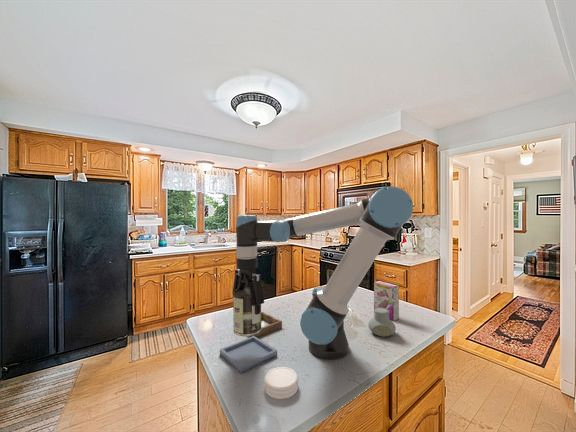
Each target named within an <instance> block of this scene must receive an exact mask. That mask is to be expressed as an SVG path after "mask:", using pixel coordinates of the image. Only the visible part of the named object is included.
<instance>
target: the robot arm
mask: <svg viewBox="0 0 576 432" xmlns="http://www.w3.org/2000/svg"><path fill="white" fill-rule="evenodd" d="M413 210H414V204H413V199H412V197H411V196H410V195H409V193H408V192H407V191H405V190H404V189H403V188H400V187H398V186H383V187H381V188H379V189H377V190H376V191H375V192H374V193H373V194H372V195H371V196H370V197H367V198H362V199H360V201H359V202H358V203H353V204H348V205H343V206H339V207H335V208H331V209H326V210H322V211H317V212H311V213H308V214H303V215H299V216H295V217H290V218H285V219H276V220H275V219H273V220H272V219H271V220H258V216H257V215H253V214H249V215H248V214H246V215H245V214H244V215H243V214H241V215H238V216H237V217H236V220H235V221H236V224H235V225H236V226H235V229H236V232H235V233H236V234H235V236H236V247H235V248H236V249H235V251H236V254H235V255H236V257H237V258H236V269H234V279H233V280H234V281H233V286H232V292H233V291H235V290H237V289H238V290H241V289H244V288H249V290H250V294H251V295H252V301H253V304H252V324H255V323H258V322H260V304H261V305H263V304H265V299H264V292H263V287H262V286H263V285H262V281H261V280H262V276H261V274H256V269H257V268H258V258H257V256H258V242H265V243H266V242H268V243H285V242H288V240H289V239H290V238H295V237H300V236H305V235H311V234H315V233H321V232H325V231H330V230H335V229H342V228H346V227H352V226H356V225H360V226H359V227H360V228H358V231H357V232H356V234H355V235H354V237H353V239H352V241H351V242H350V244H349V245H348V247H347V249H346V250H345V253H344V254H343V256H342V257H341V259H340V261H339V262H338V264H337V266H336V268H335V269H334V271H333V272H332V274H331V276H330V278H329V280H328V282H327V283H326V284H325V286H317V287H313V289H312V293H311V295H312V299H311V300H310V303H309V304H308V305H307V308H305V310H304V311H303V313H302V314H301V318H300V325H299V326H300V329H301V332H302V334H303V335H304V337H305V338H306V339H307V340H308V351H310V353H311V354H312V355H313V356H316V357H317V358H321V359H325V360H339V359H343V358H344V357H345V356H347V355H348V354H349V351H350V347H349V345H350V343H349V341H348V339H347V335H346V332H345V327H344V326H345V325H344V323H345V318H346V317H347V316H348V313H349V308H348V304H349V302H350V301H351V299H352V297H353V296H354V294H355V293H356V291H357V289H358V287H359V286H360V284H361V283H362V281H363V280H364V278H365V276H366V274H367V273H368V271H369V270H370V268H371V266H372V265H373V263H374V261H375V260H376V258H377V257H378V255H379V254H380V253H381V250H382V249H383V247H384V245H385V244H386V242H387V241H391V240H394V239H395V238H396V236H397V235H398V233H399V231H401V229H402V227H403V226H404V225H405V224H406V223H407V222H408V221H409V220H410V218H411V217H412V214H413Z"/></svg>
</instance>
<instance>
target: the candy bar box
mask: <svg viewBox="0 0 576 432" xmlns="http://www.w3.org/2000/svg"><path fill="white" fill-rule="evenodd" d="M399 289H400V287H399V285H396V284H393V283H389V282H386V281H381V280H378V281H374V282H373V311H374V310H375V309H376V308H385V309H387V310H388V311H389V320H391V321H392V322H395V321H397V320H399V319H400V299H399V298H400V295H399V294H400V292H399V291H400V290H399Z"/></svg>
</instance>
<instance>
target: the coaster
mask: <svg viewBox="0 0 576 432" xmlns="http://www.w3.org/2000/svg"><path fill="white" fill-rule="evenodd" d="M263 382H264V386H263V387H264V392H265V393H266V395H267V396H268V397H270V398H272V399H275V400H287V399H290V398H291V397H293V396H294V395H296V393H297V392H298V390H299V376H298V373H297V372H296V370H294V369H292V368H291V367H287V366H278V367H274V368H271V369H270V370H268V371H267V373H265V376H264V381H263Z"/></svg>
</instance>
